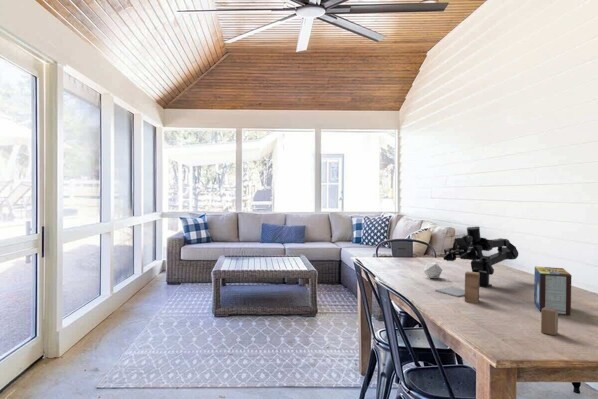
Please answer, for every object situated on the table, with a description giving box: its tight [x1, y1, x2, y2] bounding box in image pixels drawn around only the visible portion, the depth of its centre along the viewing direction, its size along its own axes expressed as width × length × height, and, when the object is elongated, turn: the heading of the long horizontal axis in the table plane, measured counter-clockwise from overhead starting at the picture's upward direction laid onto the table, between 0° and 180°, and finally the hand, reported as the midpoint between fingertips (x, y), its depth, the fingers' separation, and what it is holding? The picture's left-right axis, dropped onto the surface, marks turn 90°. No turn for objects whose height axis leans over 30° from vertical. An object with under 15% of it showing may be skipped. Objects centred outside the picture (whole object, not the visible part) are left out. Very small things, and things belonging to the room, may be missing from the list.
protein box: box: [533, 265, 572, 316], centre depth 157 cm, size 10×15×16 cm
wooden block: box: [540, 307, 559, 336], centre depth 129 cm, size 4×4×8 cm
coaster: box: [435, 286, 465, 298], centre depth 182 cm, size 12×12×1 cm
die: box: [423, 262, 443, 279], centre depth 212 cm, size 8×9×10 cm
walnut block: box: [464, 271, 480, 304], centre depth 167 cm, size 5×5×12 cm
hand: (452, 258), depth 182 cm, fingers open, 9 cm apart
